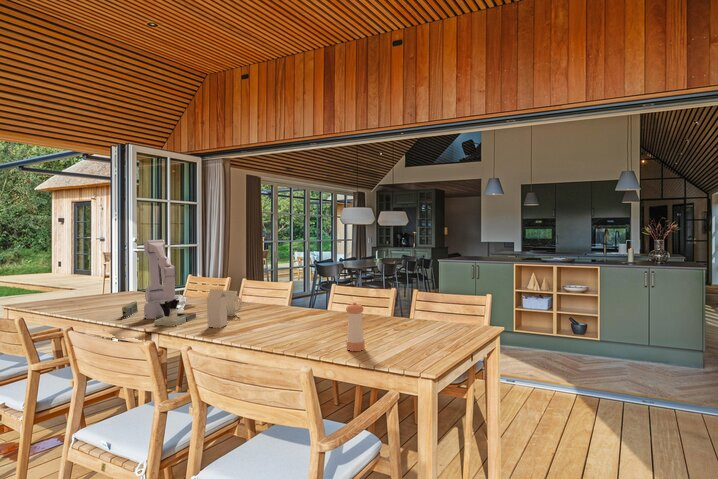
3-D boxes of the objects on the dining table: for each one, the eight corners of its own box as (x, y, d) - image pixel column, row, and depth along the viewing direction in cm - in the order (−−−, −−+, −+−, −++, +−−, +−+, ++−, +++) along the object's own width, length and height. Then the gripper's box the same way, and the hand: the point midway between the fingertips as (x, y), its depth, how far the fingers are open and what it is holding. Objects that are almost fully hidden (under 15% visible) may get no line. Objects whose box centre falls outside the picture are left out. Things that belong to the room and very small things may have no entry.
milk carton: (220, 328, 231) (219, 290, 231) (207, 327, 233) (206, 290, 232) (227, 325, 238) (226, 288, 238) (214, 324, 240) (213, 288, 239)
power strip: (155, 321, 251) (155, 315, 251) (165, 317, 261) (165, 311, 261) (187, 321, 249) (187, 315, 249) (196, 317, 259) (195, 312, 259)
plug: (162, 322, 241) (161, 311, 241) (168, 319, 247) (167, 308, 246) (172, 322, 240) (172, 311, 240) (178, 319, 246) (178, 308, 246)
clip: (165, 314, 255) (165, 305, 254) (163, 314, 255) (162, 305, 255) (186, 309, 269) (185, 301, 269) (183, 309, 270) (183, 300, 270)
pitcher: (235, 318, 255) (234, 293, 254) (211, 315, 263) (210, 291, 263) (248, 314, 265) (248, 290, 264) (225, 312, 273) (224, 289, 273)
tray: (154, 326, 239) (154, 320, 239) (164, 321, 249) (164, 316, 249) (176, 326, 238) (176, 320, 238) (185, 322, 248) (185, 316, 248)
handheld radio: (138, 311, 281) (124, 320, 257) (133, 312, 281) (118, 321, 256) (137, 301, 281) (123, 308, 256) (132, 301, 280) (117, 309, 256)
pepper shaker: (364, 346, 192) (363, 300, 191) (365, 351, 184) (364, 303, 183) (346, 347, 191) (345, 301, 191) (346, 352, 184) (345, 304, 183)
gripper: (169, 291, 235) (170, 318, 236) (183, 287, 250) (184, 312, 250) (156, 291, 236) (157, 317, 237) (170, 287, 250) (171, 312, 251)
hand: (170, 315), depth 243 cm, fingers closed on plug, 5 cm apart
